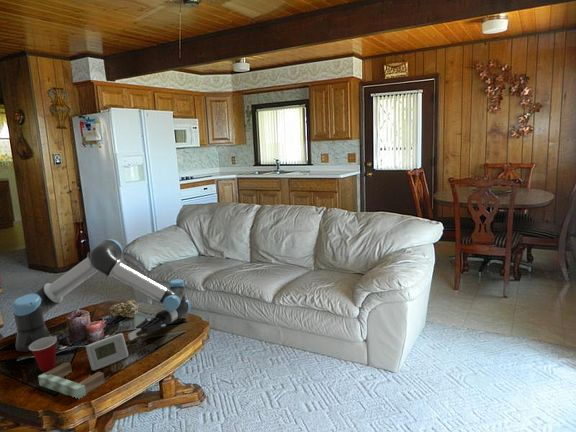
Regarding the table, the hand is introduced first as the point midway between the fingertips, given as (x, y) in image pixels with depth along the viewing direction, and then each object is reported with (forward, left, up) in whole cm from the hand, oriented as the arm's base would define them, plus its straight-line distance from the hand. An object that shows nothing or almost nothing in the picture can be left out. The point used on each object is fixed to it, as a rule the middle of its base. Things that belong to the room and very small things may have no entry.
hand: (129, 337), depth 200 cm
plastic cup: (-22, -26, -6) cm, 35 cm away
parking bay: (0, -29, -6) cm, 30 cm away
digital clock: (0, -13, -6) cm, 14 cm away
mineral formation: (-34, +27, -6) cm, 44 cm away
